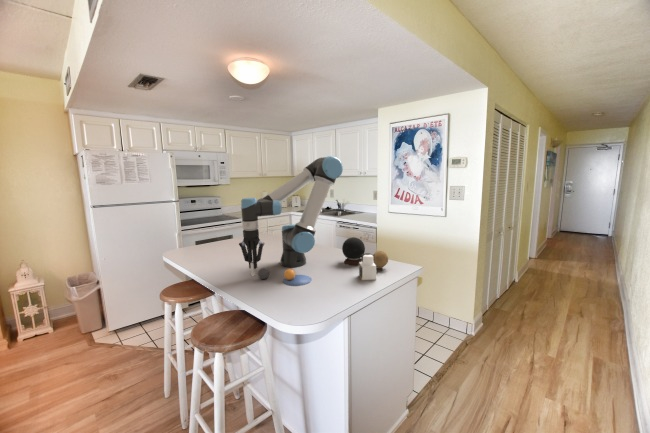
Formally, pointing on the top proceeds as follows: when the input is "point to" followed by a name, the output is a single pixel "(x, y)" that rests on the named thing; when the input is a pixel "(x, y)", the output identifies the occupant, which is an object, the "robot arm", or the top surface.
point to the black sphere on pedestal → (353, 251)
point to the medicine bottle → (367, 267)
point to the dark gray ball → (263, 273)
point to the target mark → (298, 280)
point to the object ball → (289, 274)
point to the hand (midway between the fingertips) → (253, 274)
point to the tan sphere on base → (380, 259)
